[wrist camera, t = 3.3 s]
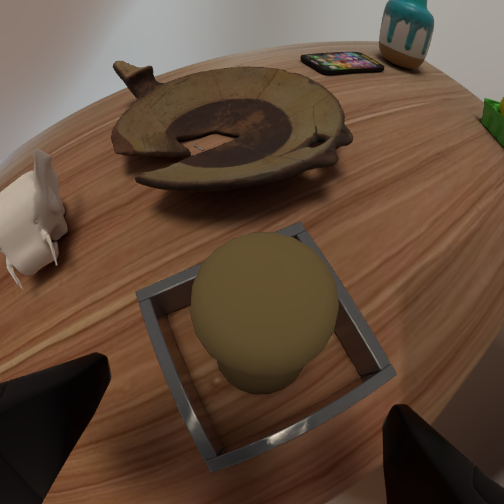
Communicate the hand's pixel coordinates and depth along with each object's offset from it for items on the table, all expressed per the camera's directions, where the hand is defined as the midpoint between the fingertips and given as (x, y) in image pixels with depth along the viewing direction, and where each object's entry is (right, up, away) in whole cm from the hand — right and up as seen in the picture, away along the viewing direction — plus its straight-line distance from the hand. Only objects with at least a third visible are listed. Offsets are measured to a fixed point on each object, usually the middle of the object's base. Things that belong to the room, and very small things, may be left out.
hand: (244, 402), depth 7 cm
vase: (+31, +44, +36) cm, 65 cm away
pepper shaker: (+1, -2, +11) cm, 11 cm away
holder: (+1, -2, +11) cm, 11 cm away
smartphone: (+17, +37, +33) cm, 53 cm away
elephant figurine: (-20, +5, +15) cm, 26 cm away
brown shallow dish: (-4, +18, +22) cm, 29 cm away
